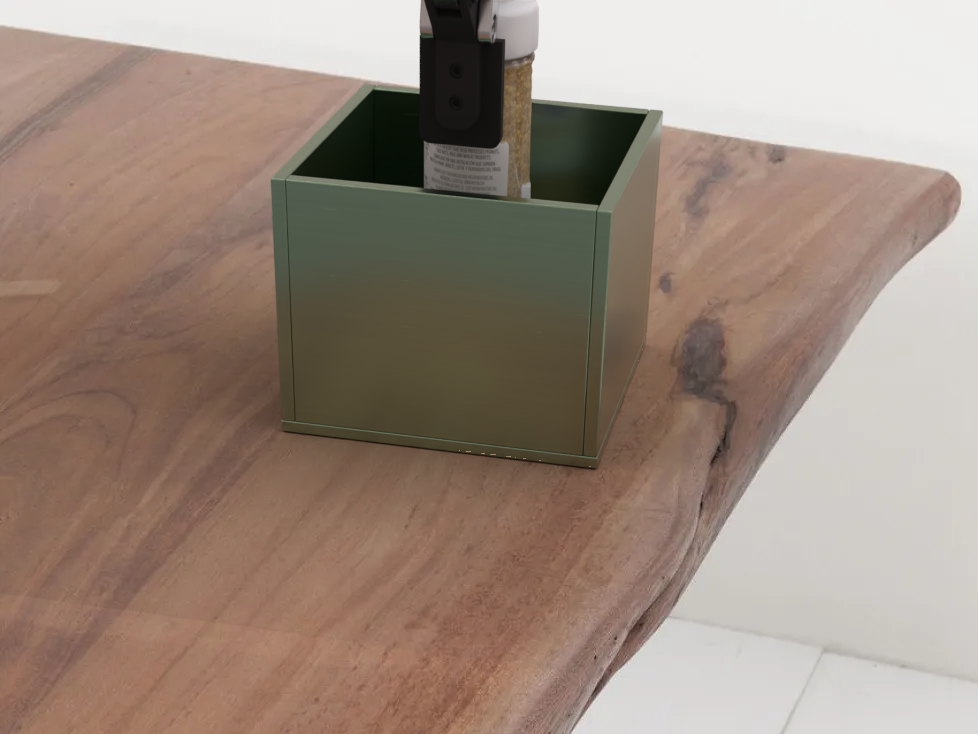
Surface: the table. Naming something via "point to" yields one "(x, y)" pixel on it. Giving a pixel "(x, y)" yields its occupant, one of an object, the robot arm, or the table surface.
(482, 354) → the bin
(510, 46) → the sprinkles bottle
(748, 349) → the table surface
